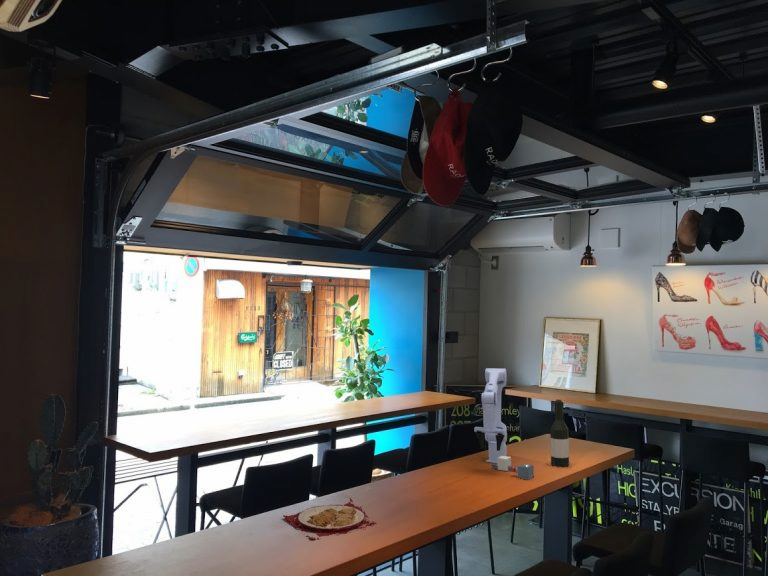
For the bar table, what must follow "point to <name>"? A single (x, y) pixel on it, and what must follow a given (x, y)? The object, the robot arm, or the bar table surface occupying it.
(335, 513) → the plate with food
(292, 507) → the bar table surface
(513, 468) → the plunger
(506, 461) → the carriage
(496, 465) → the rail
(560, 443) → the wine bottle
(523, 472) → the gauge cabinet
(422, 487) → the bar table surface
